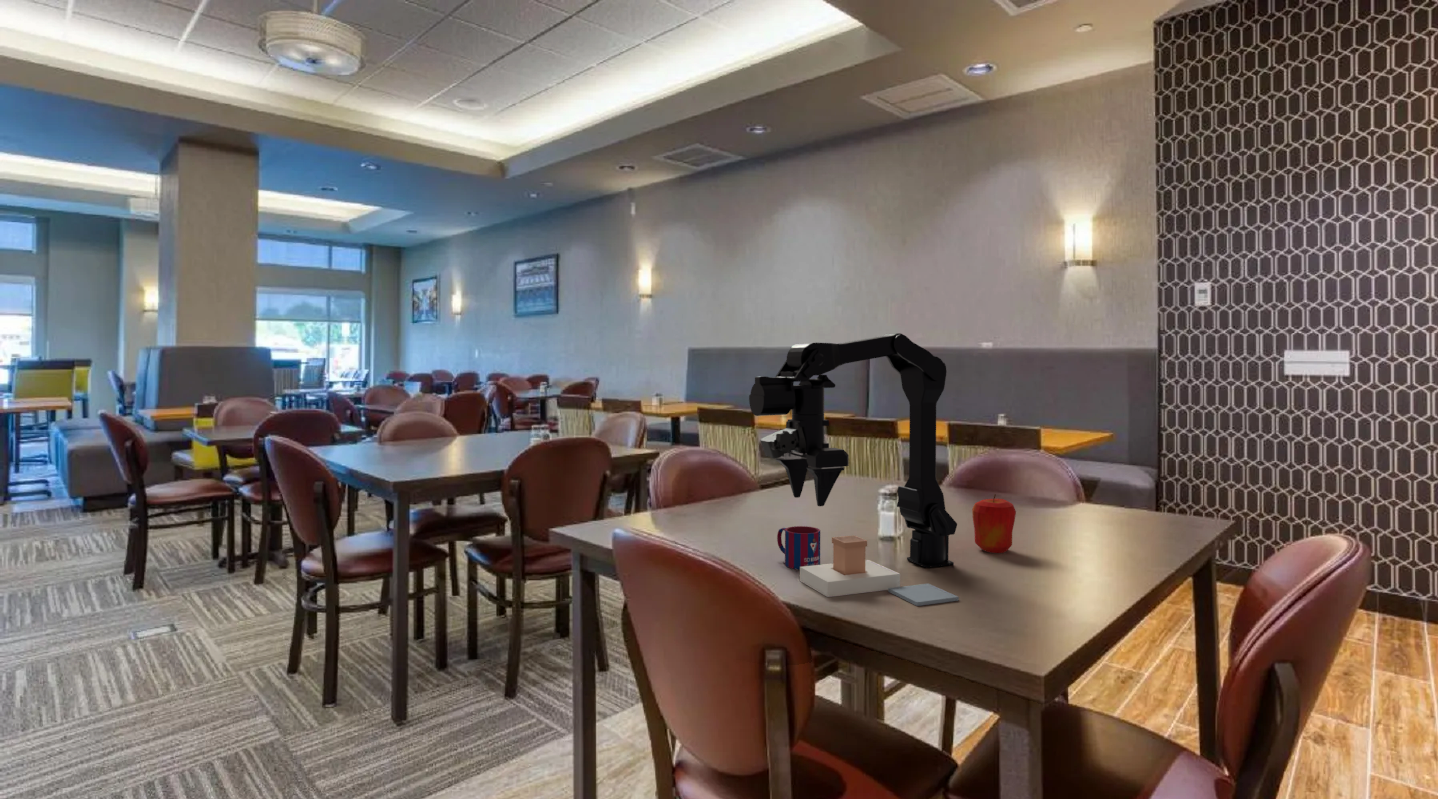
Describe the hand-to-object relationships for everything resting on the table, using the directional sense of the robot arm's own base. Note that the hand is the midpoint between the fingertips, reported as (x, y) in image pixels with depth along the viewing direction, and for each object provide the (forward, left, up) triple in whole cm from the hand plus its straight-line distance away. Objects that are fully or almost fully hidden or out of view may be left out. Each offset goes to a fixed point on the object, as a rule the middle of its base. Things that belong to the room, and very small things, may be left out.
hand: (808, 501), depth 132 cm
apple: (-45, -5, -14) cm, 48 cm away
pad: (-13, +16, -14) cm, 25 cm away
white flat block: (-5, +6, -14) cm, 16 cm away
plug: (-5, +6, -14) cm, 16 cm away
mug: (-3, -10, -14) cm, 18 cm away
